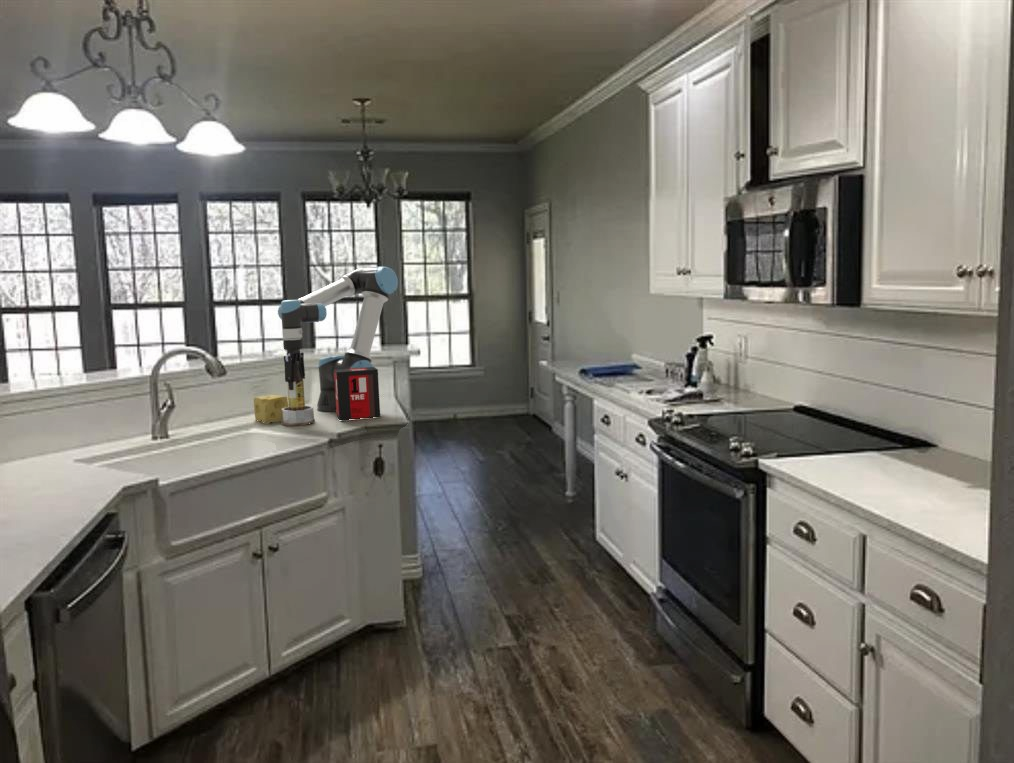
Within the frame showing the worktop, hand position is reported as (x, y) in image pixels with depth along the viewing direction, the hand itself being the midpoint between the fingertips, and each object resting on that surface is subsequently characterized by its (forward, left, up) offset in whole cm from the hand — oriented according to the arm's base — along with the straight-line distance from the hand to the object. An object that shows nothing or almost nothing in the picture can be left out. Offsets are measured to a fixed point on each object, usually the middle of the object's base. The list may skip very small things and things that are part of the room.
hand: (296, 396), depth 344 cm
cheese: (+9, -12, -11) cm, 19 cm away
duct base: (0, 0, -11) cm, 11 cm away
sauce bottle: (0, 0, -6) cm, 6 cm away
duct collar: (0, 0, -11) cm, 11 cm away
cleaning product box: (-24, +2, -11) cm, 27 cm away
